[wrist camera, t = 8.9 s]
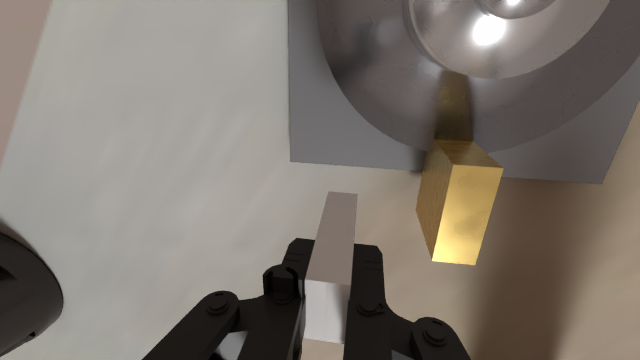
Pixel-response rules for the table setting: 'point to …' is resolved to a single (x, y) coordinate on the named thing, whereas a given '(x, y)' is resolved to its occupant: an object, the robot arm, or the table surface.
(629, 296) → the table surface
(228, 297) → the robot arm
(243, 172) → the table surface
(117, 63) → the table surface
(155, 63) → the table surface
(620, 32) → the turntable
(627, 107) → the turntable base
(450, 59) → the cover
